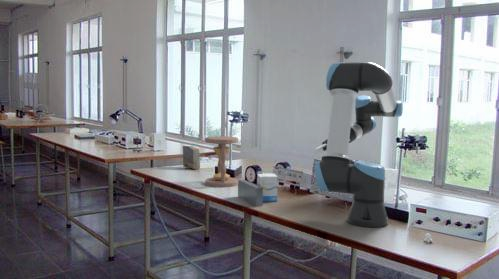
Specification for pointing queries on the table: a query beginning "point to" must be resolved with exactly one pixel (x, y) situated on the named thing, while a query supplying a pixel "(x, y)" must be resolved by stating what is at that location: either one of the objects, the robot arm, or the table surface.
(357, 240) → the table surface
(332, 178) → the robot arm
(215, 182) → the hourglass
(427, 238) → the power adapter
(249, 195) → the block
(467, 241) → the table surface
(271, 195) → the ink box
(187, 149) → the geological specimen
